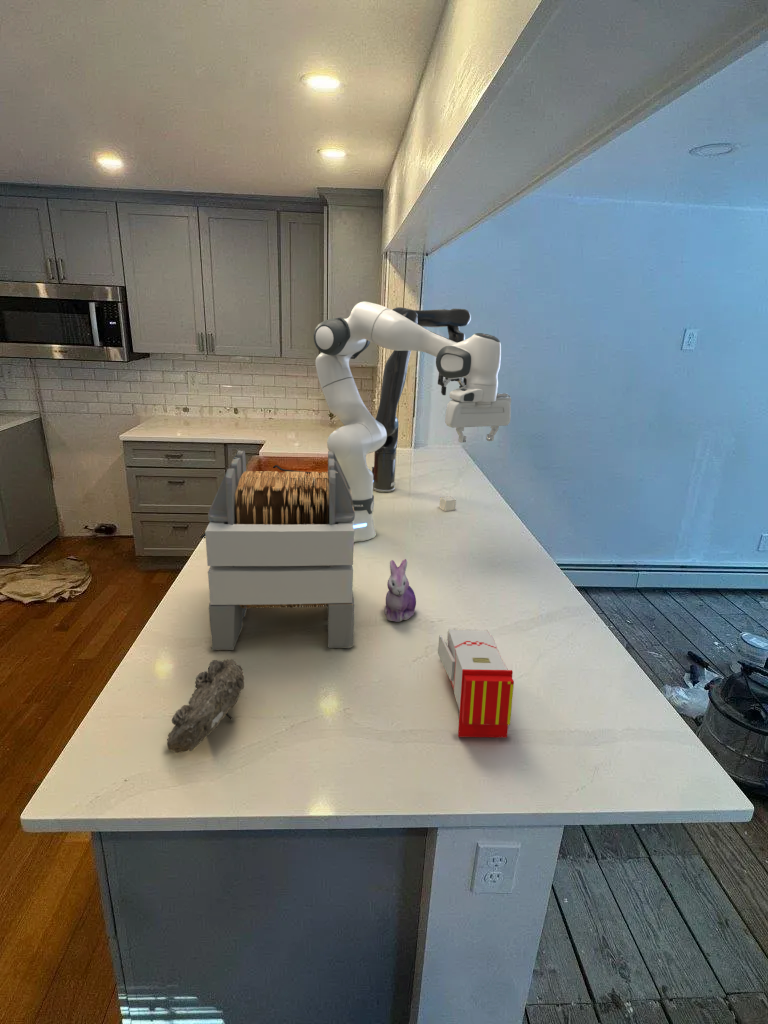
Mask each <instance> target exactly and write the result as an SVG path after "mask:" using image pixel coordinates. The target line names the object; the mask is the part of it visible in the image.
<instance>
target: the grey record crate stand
mask: <svg viewBox="0 0 768 1024" xmlns="http://www.w3.org/2000/svg"><path fill="white" fill-rule="evenodd" d="M246 461H247V459H246V450H240V449H238V450H237V452H236V454H235V456H234V457H233V458H232V461H231V463H230V465H229V467H228V468H227V469H226V472H225V473H224V476H223V478H222V480H221V483H220V486H219V487H218V489H217V491H216V494H215V496H214V498H213V501H212V503H211V504H210V508H209V509H208V512H207V518H208V521H209V523H208V525H207V527H206V529H205V531H204V533H205V549H206V565H207V567H209V569H208V571H207V577H208V592H209V603H208V616H209V617H208V618H209V630H210V636H211V647H210V649H211V651H218V652H219V650H222V651H228V650H229V651H234V649H235V647H236V645H237V642H238V640H239V636H240V634H241V632H242V629H243V619H245V618H246V613H247V609H252V608H253V609H267V608H268V609H273V608H275V609H276V608H278V609H279V608H282V609H283V608H284V609H285V608H290V609H291V608H317V607H318V608H323V607H324V608H326V611H327V613H326V614H327V642H328V643H327V647H328V649H333V648H334V649H335V648H336V649H351V648H352V647H354V636H355V635H354V633H355V628H354V627H355V599H354V598H355V597H354V591H353V589H354V588H353V587H354V586H353V585H354V567H353V566H354V552H355V551H354V549H355V547H354V546H355V542H354V527H353V520H354V519H355V511H354V506H353V500H352V494H351V488H350V486H349V484H348V482H347V480H346V478H345V475H344V473H343V471H342V469H341V467H340V465H339V462H338V460H337V458H336V456H335V454H334V452H331V451H329V450H328V451H327V471H321V472H319V471H303V472H288V471H287V472H286V471H284V472H279V471H277V470H276V471H273V470H272V471H271V470H265V471H263V470H256V471H253V470H247V462H246ZM307 472H308V474H307ZM309 472H310V474H309ZM319 473H320V475H319Z"/></svg>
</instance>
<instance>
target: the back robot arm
mask: <svg viewBox="0 0 768 1024" xmlns="http://www.w3.org/2000/svg"><path fill="white" fill-rule="evenodd" d="M391 310H393V311H395V312H397V313H399V314H401V315H403V316H404V317H406V318H408V319H409V320H411V321H413V322H414V323H416V324H418V325H420V326H421V327H423V328H447V333H448V339H450V340H452V341H455V342H461V341H464V340H466V334H465V333H464V332H462V331H461V330H460V327H466V326H467V325H469V324H470V322H471V320H472V315H471V313H470V311H469V310H468V309H465V308H451V309H445V308H443V309H441V308H439V309H420V310H419V309H418V310H417V309H412V308H408V307H403V306H402V307H401V306H397V307H394V308H392V309H391ZM411 353H412V351H395V350H392V352H391V354H390V356H389V357H388V358H387V360H386V362H385V365H384V369H383V375H382V382H381V389H380V398H379V399H380V400H379V405H378V409H377V413H376V416H375V419H376V420H377V421H378V422H380V423H381V424H382V425H383V426H384V427H385V429H386V432H387V439H386V442H385V443H384V445H383V446H382V447H380V448H379V449H378V450H376V451H375V452H373V454H374V455H373V456H374V458H373V460H374V461H373V462H374V463H373V466H372V468H371V471H372V473H373V491H375V492H378V493H391V492H394V491H395V485H396V481H395V480H396V462H397V446H398V442H399V441H398V440H399V428H400V427H399V426H400V425H399V419H398V417H397V409H398V404H399V402H400V399H401V396H402V393H403V390H404V387H405V385H406V380H407V374H408V367H409V363H410V358H411V357H410V356H411ZM451 382H457V383H458V384H459V387H458V389H459V388H461V387H464V386H466V383H467V379H466V378H457V379H449V378H445V377H443V376H442V375H441V374H440V373H439V372H438V377H437V385H439V386H440V387H441V391H440V393H441V395H442V396H446V395H447V385H448V384H450V383H451ZM272 468H273V469H275V468H276V469H278V470H279V471H280V472H285V471H286V472H287V471H288V472H304V471H301V470H295V469H294V470H293V469H285V468H282V467H280V466H279V465H278V464H274V465H273V466H272ZM306 472H307V475H308V472H309V475H310V472H311V471H306ZM320 473H321V472H319V476H320Z"/></svg>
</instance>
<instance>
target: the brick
mask: <svg viewBox="0 0 768 1024" xmlns="http://www.w3.org/2000/svg"><path fill="white" fill-rule="evenodd" d="M456 503H457V499H456V498H454V497H452V496H451V495H447V496H440V497H439V507H438V508H439V509H441V510H442V511H444V512H450V511H451V512H452V511H455V510H456Z"/></svg>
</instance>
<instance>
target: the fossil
mask: <svg viewBox="0 0 768 1024" xmlns="http://www.w3.org/2000/svg"><path fill="white" fill-rule="evenodd" d="M243 670H244V669H243V667H242V665H240V664H237V662H236V661H235V660H234V659H232V658H231V659H227V658H226V659H224V660H223V661H222V660H217V659H212V660H211V661H210V663H209V665H208V666H207V671H201V672H199V673H198V674H197V675H196V676H195V680H194V684H195V685H194V687H195V689H194V690H193V693H192V694H191V697H190V698H189V700H188V704H184V705H182V706H181V707H180V709H177V710H176V711H175V713H174V715H173V716H172V718H171V723H172V724H173V727H172V730H171V731H170V732H168V734H167V738H166V741H167V742H166V745H167V749H168V750H169V751H173V752H174V753H176V754H178V753H182V752H188V751H189V752H192V751H193V750H195V748H196V747H197V746H199V744H200V743H201V742H203V741H204V740H205V739H206V738H207V737H208V736H209V735H210V734H211V733H212V732H214V730H215V729H217V727H218V726H219V724H220V722H221V721H222V720H223V719H224V718H225V716H226V717H227V719H229V720H233V717H232V715H230V714H229V710H230V709H231V708H234V706H235V704H236V703H237V702H238V699H239V697H240V695H241V693H242V691H243V690H245V689H244V688H245V675H244V671H243Z"/></svg>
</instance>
